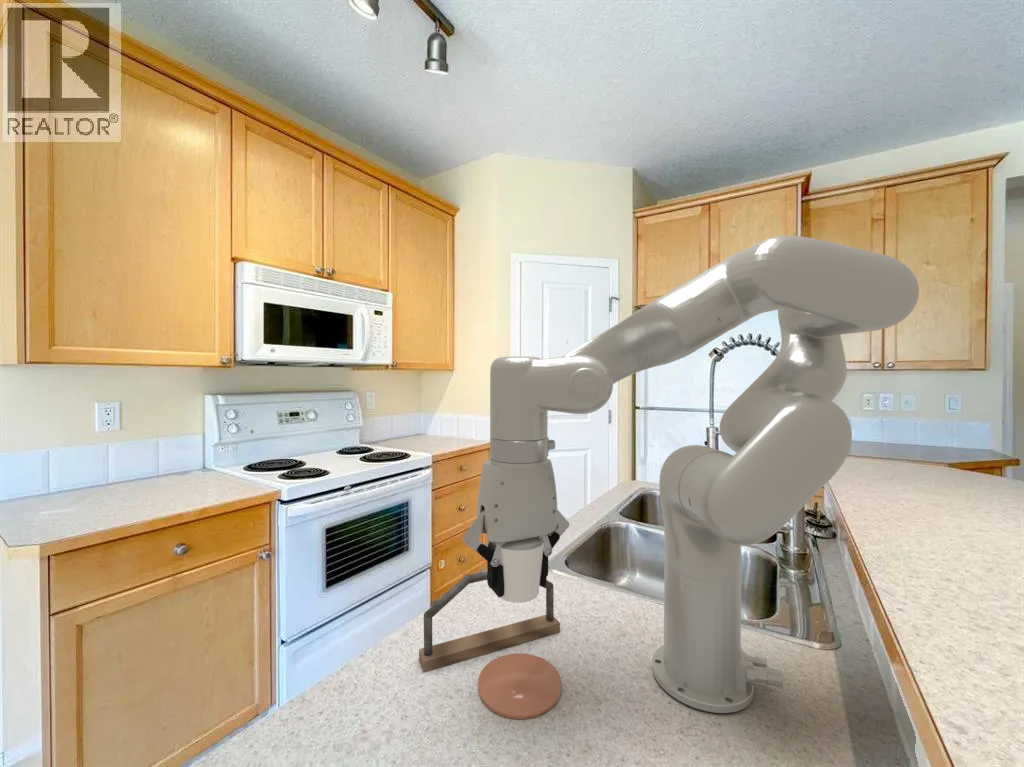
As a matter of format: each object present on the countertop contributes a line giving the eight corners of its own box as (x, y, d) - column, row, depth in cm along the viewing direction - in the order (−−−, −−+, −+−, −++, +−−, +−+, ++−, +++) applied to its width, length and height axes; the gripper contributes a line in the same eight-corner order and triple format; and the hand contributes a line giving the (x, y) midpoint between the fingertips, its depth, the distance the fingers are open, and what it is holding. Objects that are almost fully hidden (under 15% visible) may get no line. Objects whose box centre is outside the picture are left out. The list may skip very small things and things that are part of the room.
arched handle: (550, 622, 72) (550, 553, 72) (559, 632, 69) (559, 560, 69) (419, 659, 63) (418, 580, 63) (423, 672, 60) (423, 590, 60)
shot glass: (539, 608, 53) (540, 552, 53) (485, 601, 54) (486, 546, 54) (546, 582, 60) (547, 532, 60) (497, 576, 61) (498, 527, 61)
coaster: (568, 668, 61) (568, 662, 61) (550, 729, 51) (550, 722, 51) (495, 652, 64) (495, 647, 64) (464, 706, 54) (464, 700, 54)
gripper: (560, 442, 64) (559, 563, 64) (447, 450, 56) (447, 587, 57) (589, 450, 57) (588, 586, 57) (465, 461, 50) (465, 617, 50)
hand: (518, 585), depth 57 cm, fingers closed on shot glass, 5 cm apart
